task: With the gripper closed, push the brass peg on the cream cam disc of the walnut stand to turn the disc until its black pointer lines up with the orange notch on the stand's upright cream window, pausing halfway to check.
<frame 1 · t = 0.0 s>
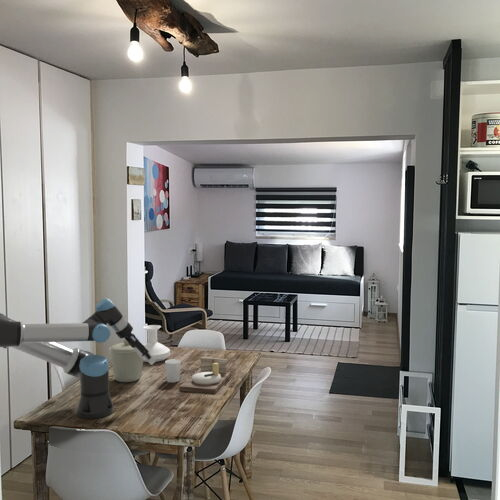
hand: (148, 359, 249), 15 cm above the table, tool tilted 35°, fingers open, 13 cm apart
stand: (203, 385, 259), on the table
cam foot: (206, 372, 259), point 6 cm above the table, hinge at -45.0°
white cup: (173, 380, 266), on the table
white vase: (152, 359, 305), on the table
canister: (127, 379, 268), on the table
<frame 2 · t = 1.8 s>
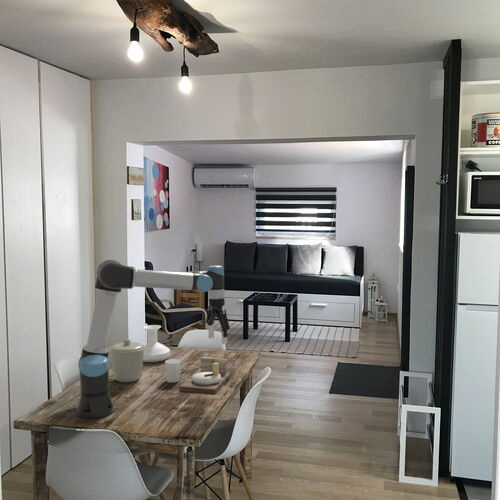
hand: (217, 340, 255), 23 cm above the table, tool pointing down, fingers open, 13 cm apart
nothing on the table moved.
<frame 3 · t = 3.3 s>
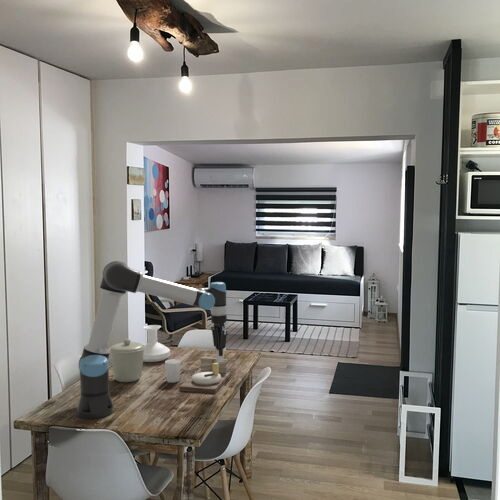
hand: (219, 361, 256), 12 cm above the table, tool pointing down, fingers closed
nothing on the table moved.
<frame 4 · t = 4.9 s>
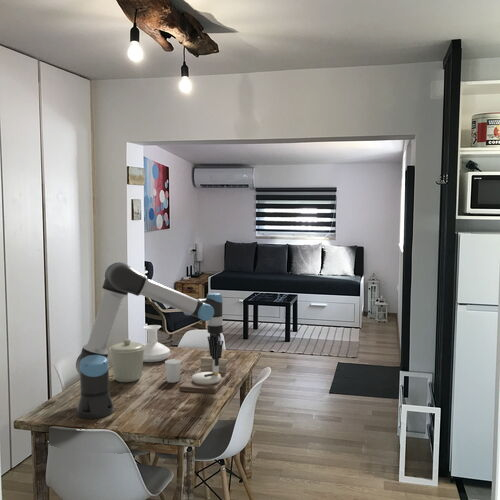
hand: (215, 371, 259), 6 cm above the table, tool pointing down, fingers closed
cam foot: (206, 372, 259), point 6 cm above the table, hinge at -44.5°, touching gripper
everything else where it was.
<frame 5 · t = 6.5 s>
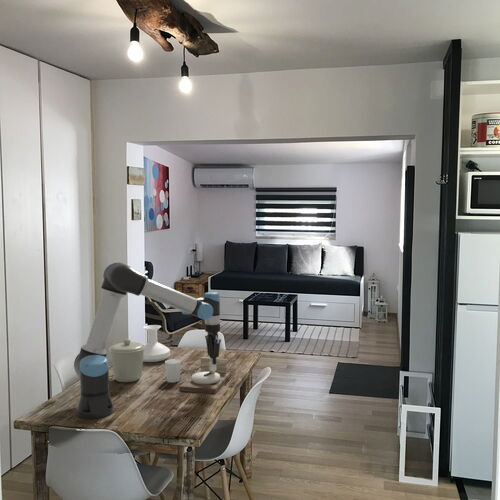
hand: (213, 370, 261), 6 cm above the table, tool pointing down, fingers closed
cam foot: (205, 372, 259), point 6 cm above the table, hinge at -21.2°, touching gripper
everything else where it was.
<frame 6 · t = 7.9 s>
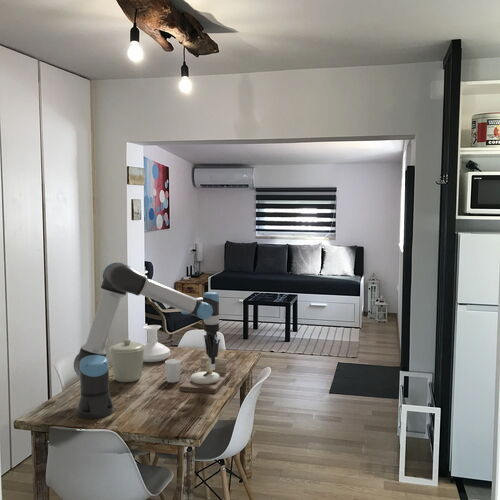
hand: (212, 369, 262), 6 cm above the table, tool pointing down, fingers closed
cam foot: (205, 372, 260), point 6 cm above the table, hinge at -7.1°
everything else where it was.
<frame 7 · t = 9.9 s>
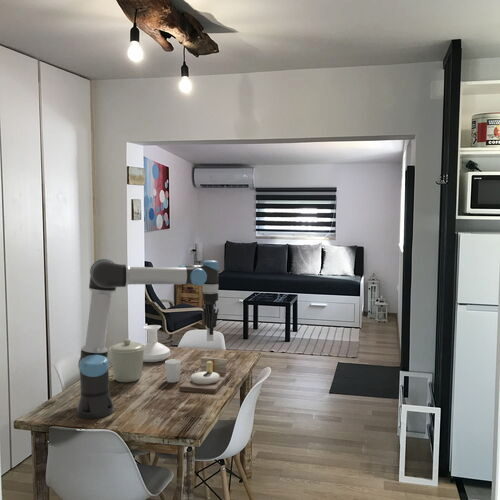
hand: (210, 340, 253), 23 cm above the table, tool pointing down, fingers closed
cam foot: (205, 372, 260), point 6 cm above the table, hinge at -7.6°
everything else where it was.
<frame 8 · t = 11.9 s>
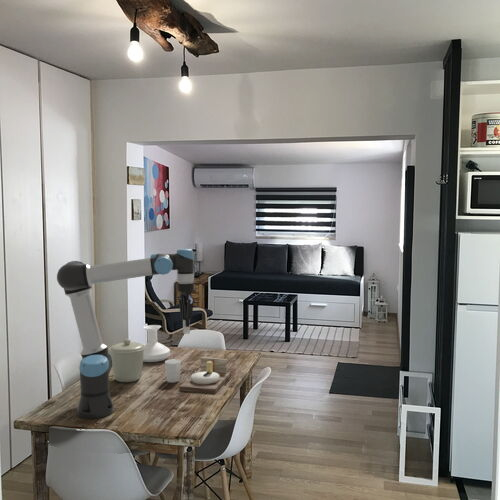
hand: (186, 333, 242), 29 cm above the table, tool pointing down, fingers closed
nothing on the table moved.
at the end: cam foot at -8° (first picture: -45°); white cup moved 0.2 cm from its start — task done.
